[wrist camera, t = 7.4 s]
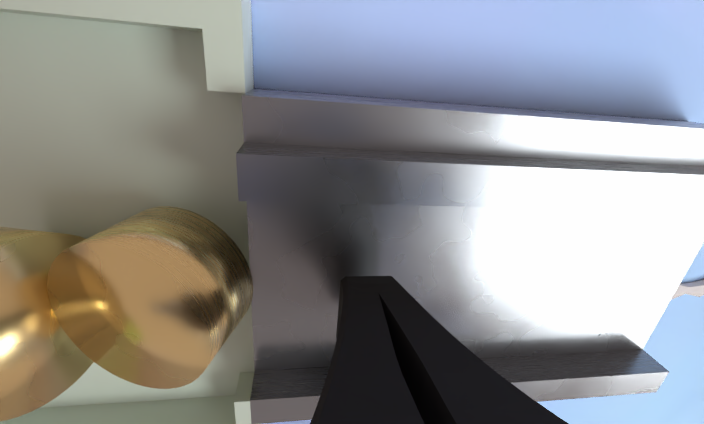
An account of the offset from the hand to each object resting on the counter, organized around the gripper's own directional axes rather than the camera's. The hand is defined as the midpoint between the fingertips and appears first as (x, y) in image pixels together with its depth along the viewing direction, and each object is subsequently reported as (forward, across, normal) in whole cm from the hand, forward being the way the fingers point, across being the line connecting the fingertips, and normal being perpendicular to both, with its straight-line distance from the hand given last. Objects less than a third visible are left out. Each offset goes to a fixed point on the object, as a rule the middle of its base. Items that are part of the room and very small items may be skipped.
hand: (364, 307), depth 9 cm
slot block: (+3, -4, 0) cm, 5 cm away
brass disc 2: (+1, +5, 0) cm, 5 cm away
